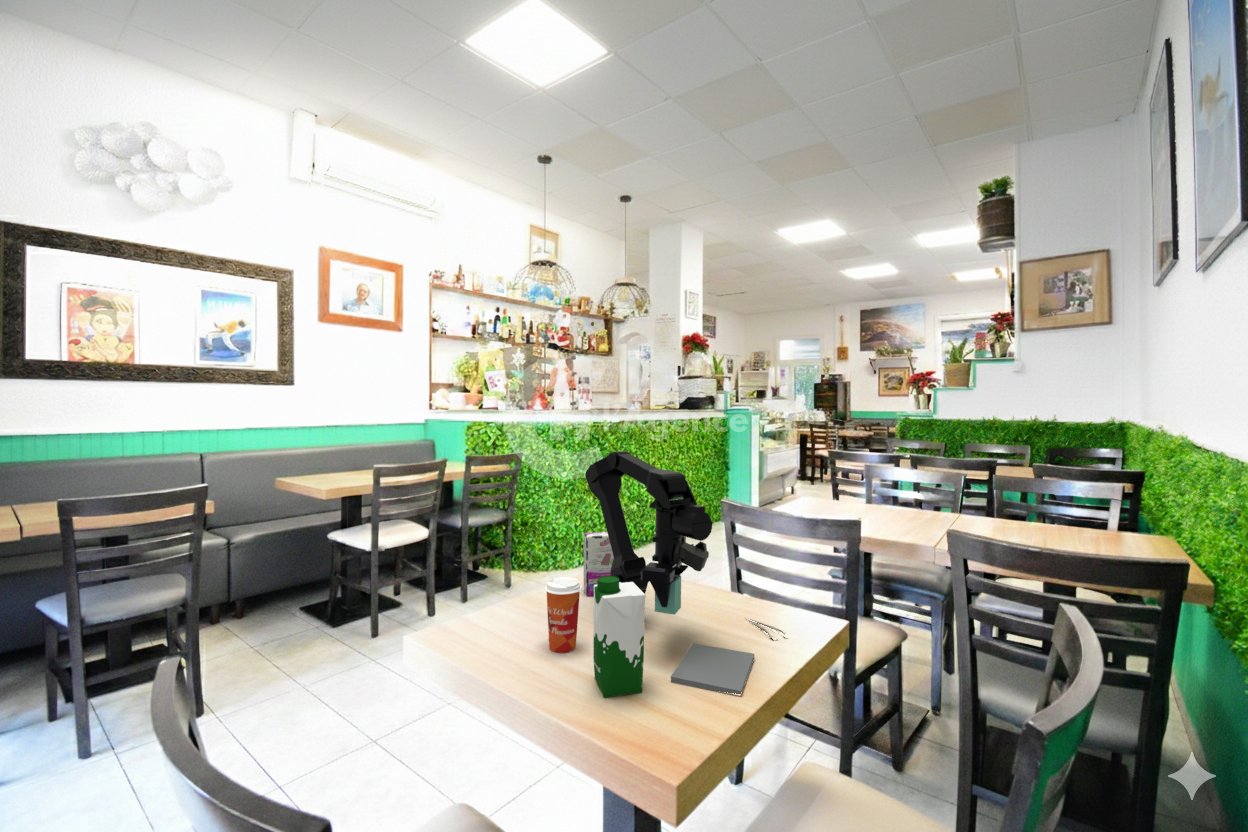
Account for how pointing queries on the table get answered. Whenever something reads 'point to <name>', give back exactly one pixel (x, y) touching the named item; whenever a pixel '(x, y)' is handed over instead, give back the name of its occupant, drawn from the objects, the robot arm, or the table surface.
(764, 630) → the tweezers
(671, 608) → the block
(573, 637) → the paper cup
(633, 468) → the robot arm
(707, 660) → the board
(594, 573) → the candy bar box
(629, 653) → the milk carton
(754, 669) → the table surface
